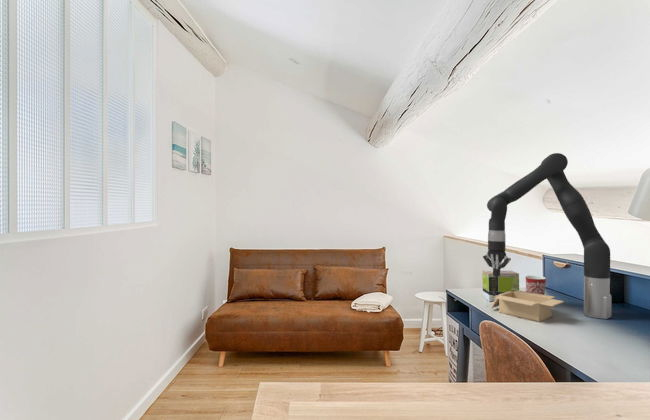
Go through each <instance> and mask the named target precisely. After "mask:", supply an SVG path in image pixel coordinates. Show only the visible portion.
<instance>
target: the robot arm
mask: <svg viewBox="0 0 650 420" xmlns="http://www.w3.org/2000/svg"><path fill="white" fill-rule="evenodd" d="M568 164H569V161H568V158H567V156H566V155H565V154H563V153H561V152H555V153H551V154H549V155H547V156H546V157H545V158H544V159H543V160H542V161H541V163H540V165H538V167H536V168H535V169H534V170H532V171H531V172H529V173H528V174H527V175H524V176H523V177H522V178H520V179H519V180H517V181H516V182H514V183H513V184H511V185H510V186H509V187H507V188H505V190H503V191H501V192H499V193H498V194H496V195H494V196H492V197H491V198H490V199H489V200H488V201H487V203H486V207H487V209H488V211H490V212H491V213H490V218H489V220H488V234H487V249H488V250H487V253H486V254H485V255H483V256H482V258H483V260H484V261H485V262H486V264H487V266H488V267H489V268H490V267H491V268H492V270H493V275H494V277H499V276H500V270H501V269H504V268H505V267H506V266H507V265H508V263H510V262H511V257H509V256H507V254H506V218H507V212H508V205H509V204H511V203H514V202H516V201H518V200H519V199H521V198H522V197H524V196H525V195H527V194H528V193H529V192H530V191H532V190H533V189H534V188H536V187H537V186H538V185H540V184H541V183H542V182H544V181H545V180H547V181H548V183H549V184H550V186H551V188H552V190H553V192H554V194H555V196H556V199H557V200H558V202H559V205H560V207H561V209H562V212H563V213H564V215H565V217H566V218H567V220H568V222H569V223H570V224H571V226H572V227H573V229H574V230H575V231H576V233H577V235H578V237H579V239H580V242H581V244H582V248H583V314H584V315H585V316H586V317H591V318H595V319H604V320H608V319H609V318H611V317H612V294H611V292H610V291H611V290H610V288H611V287H610V286H611V285H610V284H611V249H610V246H609V245H608V243H607V242H606V241H605V239H604V238H603V236H602V234H600V232H599V231H598V229H597V227H596V224H595V221H594V218H593V216H592V213H591V211H590V208H589V206H588V204H587V202H586V200H585V198H584V197H583V195H582V194H581V193H580V192H579V191H578V190H577V189H576V188H575V187H574V186H573V185H572V184H571V183H570V181H569V180H568V178H567V176H566V173H565V169H566V168H567V166H568Z"/></svg>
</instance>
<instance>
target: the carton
mask: <svg viewBox="0 0 650 420" xmlns="http://www.w3.org/2000/svg"><path fill="white" fill-rule="evenodd" d="M495 298H496V299H499V306H498V307H499V308H498V311H499V313H500V314H503V315H508V316H512V317H516V318H520V319H525V320H529V321H533V322H537V323H539V322H543V321H544V320H547V319H549V318H552V307H555V306H558V305H560V304H563V303H565V301H564V300H558V299H555V298H556V296H552V295H548V294H547V295H546V294H545V295H542V294H536V293H531V292H526V290H525V291H524V290H520V289H519V290H518V291H515V292H513V291H512V292H509V293H505V294H502V295H499V296H497V297H495Z"/></svg>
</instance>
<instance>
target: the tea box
mask: <svg viewBox="0 0 650 420" xmlns="http://www.w3.org/2000/svg"><path fill="white" fill-rule="evenodd" d="M518 290H519V291H520V274H519V272H516V271H514V270H512V269H511V270H510V269H509V270H508V269H507V270H506V269H504V270H503V269H502V270H501V269H500V276H499V277H494V275H493V269H490V270H488V269H487V270H482V297H483V299H485V300H486V301H487V302H489V303H490V302H492V303H494V301H495V299H496V298H495V297H497V296H498V295H499V294H502V293H505V292H509V291H511V292H512V291H513V292H515V291H518Z"/></svg>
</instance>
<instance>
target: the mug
mask: <svg viewBox="0 0 650 420" xmlns="http://www.w3.org/2000/svg"><path fill="white" fill-rule="evenodd" d="M546 281H547V277H545V276H541V275H525V292H531V293H536V294H542V295H546Z"/></svg>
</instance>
